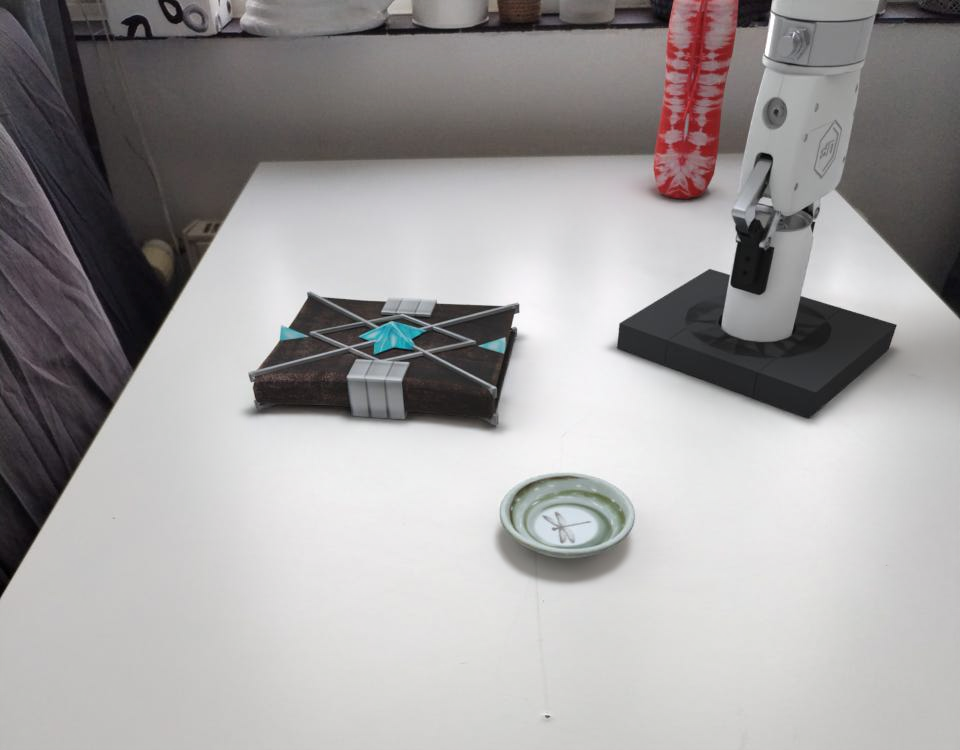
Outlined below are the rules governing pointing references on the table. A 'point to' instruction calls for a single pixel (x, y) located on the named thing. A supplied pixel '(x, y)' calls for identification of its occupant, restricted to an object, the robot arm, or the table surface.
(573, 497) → the saucer
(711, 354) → the pad
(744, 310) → the can
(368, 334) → the book
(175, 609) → the table surface
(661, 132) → the red tall rounded piece
